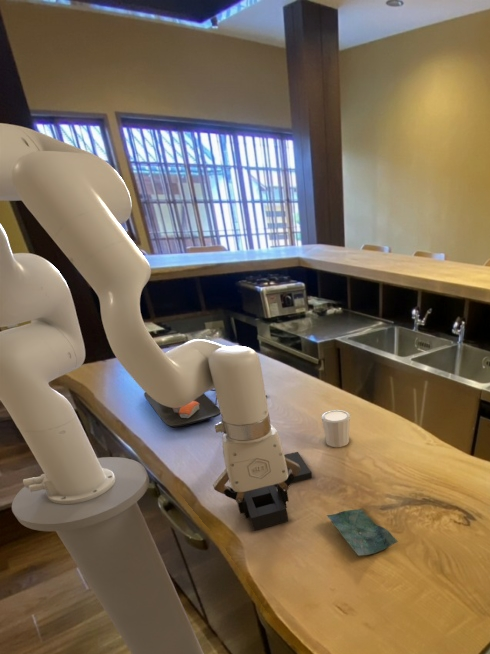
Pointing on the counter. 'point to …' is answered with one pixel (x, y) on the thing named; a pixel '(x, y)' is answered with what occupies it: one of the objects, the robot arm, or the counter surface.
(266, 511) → the black block with hole
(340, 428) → the white cup
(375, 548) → the nori seaweed sheet
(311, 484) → the counter surface
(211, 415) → the sushi plate
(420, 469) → the counter surface
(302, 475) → the base pad
